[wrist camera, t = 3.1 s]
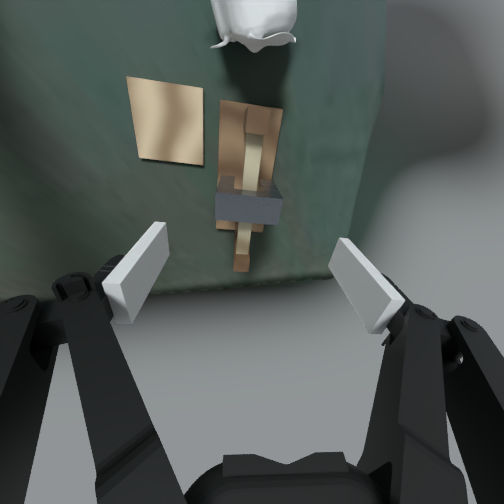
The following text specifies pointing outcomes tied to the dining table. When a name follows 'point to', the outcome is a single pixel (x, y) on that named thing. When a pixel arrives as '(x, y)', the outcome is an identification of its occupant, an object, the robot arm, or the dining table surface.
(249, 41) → the elephant figurine
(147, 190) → the dining table surface
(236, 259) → the stand
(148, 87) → the cork coaster
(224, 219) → the c link
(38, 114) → the dining table surface
